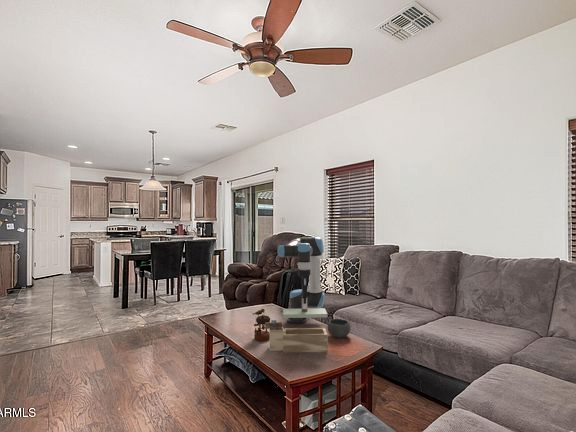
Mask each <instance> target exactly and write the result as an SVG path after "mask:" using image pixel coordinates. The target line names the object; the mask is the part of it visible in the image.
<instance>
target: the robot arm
mask: <svg viewBox="0 0 576 432" xmlns="http://www.w3.org/2000/svg"><path fill="white" fill-rule="evenodd" d="M324 247H325V246H324V242H323V239H322V237H317V236H310V237H309V236H303V237H301V236H300V237H296V238H294V239H292V240H290V241H289V242H288V243H287V244H282V245H281V244H280V245H278V246H277V256H278V257H279V258H280V257H281V258H297V263H296V265H297V268H298V269H297V275H298V277H301V278H300V281H301V283H300V284H301V289H300V288H299V289H294V290H291V291H290V292H289V309H307V304H308V308H323V306H324V302H325V292H323V289H322V288H321V257H322V255H323V253H325V249H324ZM307 277H308V278H307ZM308 286H309V287H308ZM301 296H303V297H301ZM301 298H302V300H301ZM287 321H288V323H292V324H305V323H306V322H308V318H287Z"/></svg>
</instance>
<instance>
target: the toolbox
mask: <svg viewBox="0 0 576 432" xmlns="http://www.w3.org/2000/svg"><path fill="white" fill-rule="evenodd" d="M270 322H271V329H269V333H270V340H269V351H271V352H273V351H282V353H284V354H285V353H328V352H329V351H328V350H329V348H328V347H329V343H328V338H329V337H328V333H327V332H328V331H327V330H326V327H308V328H307V327H305V328H301V327H300V328H299V327H296V328H295V327H294V328H292V327H291V328H289V327H287V328H284V326H282V329H276V322H277V320H276V319H270Z"/></svg>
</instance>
